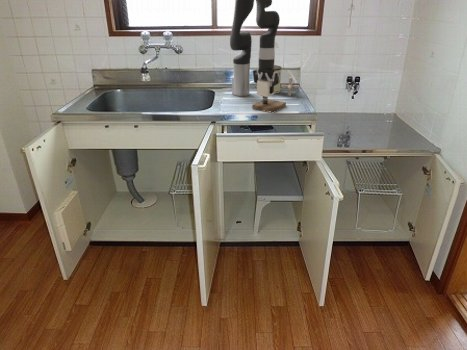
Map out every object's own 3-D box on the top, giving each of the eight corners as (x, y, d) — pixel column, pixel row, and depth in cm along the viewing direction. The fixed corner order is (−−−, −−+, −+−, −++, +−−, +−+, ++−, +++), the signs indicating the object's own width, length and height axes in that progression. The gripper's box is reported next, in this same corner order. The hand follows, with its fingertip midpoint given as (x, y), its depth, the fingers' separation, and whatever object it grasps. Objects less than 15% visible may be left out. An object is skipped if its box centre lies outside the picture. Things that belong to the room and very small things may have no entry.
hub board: (252, 108, 174) (252, 104, 173) (265, 102, 183) (265, 98, 182) (273, 112, 167) (273, 108, 166) (285, 106, 177) (286, 102, 176)
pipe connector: (298, 98, 190) (299, 79, 185) (279, 97, 191) (280, 79, 187) (298, 93, 198) (300, 75, 194) (281, 92, 200) (282, 75, 195)
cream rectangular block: (256, 95, 172) (257, 79, 168) (263, 92, 176) (263, 77, 173) (267, 96, 169) (267, 81, 165) (273, 94, 173) (274, 78, 169)
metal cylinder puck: (261, 103, 174) (261, 95, 172) (264, 102, 176) (264, 94, 174) (265, 104, 173) (266, 96, 171) (268, 103, 175) (268, 95, 173)
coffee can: (261, 93, 199) (262, 68, 193) (263, 89, 208) (263, 64, 202) (279, 94, 198) (281, 68, 191) (280, 89, 207) (281, 65, 200)
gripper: (249, 57, 165) (249, 92, 173) (275, 60, 158) (274, 96, 166) (257, 55, 171) (257, 89, 178) (283, 57, 163) (281, 93, 171)
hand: (265, 92), depth 172 cm, fingers closed on cream rectangular block, 6 cm apart
